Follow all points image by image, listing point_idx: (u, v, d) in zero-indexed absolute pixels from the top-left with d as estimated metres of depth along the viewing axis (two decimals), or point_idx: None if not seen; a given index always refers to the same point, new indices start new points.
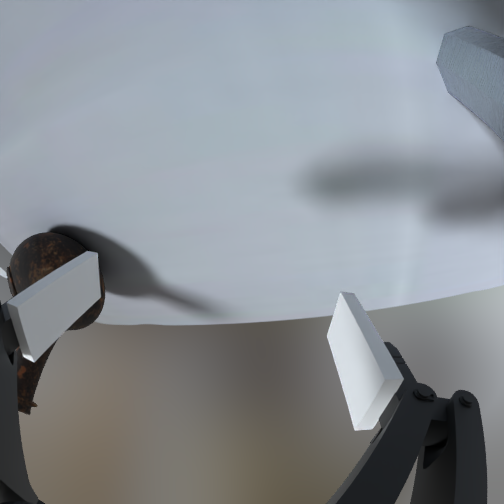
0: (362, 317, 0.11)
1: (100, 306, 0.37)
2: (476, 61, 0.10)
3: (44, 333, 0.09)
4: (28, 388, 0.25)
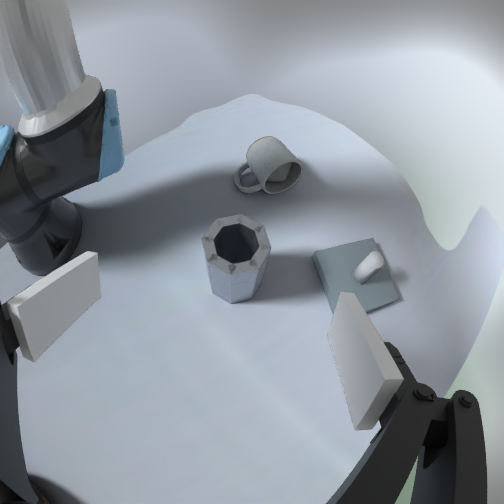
0: (362, 317, 0.11)
1: None
2: (207, 268, 0.36)
3: (44, 333, 0.09)
4: None
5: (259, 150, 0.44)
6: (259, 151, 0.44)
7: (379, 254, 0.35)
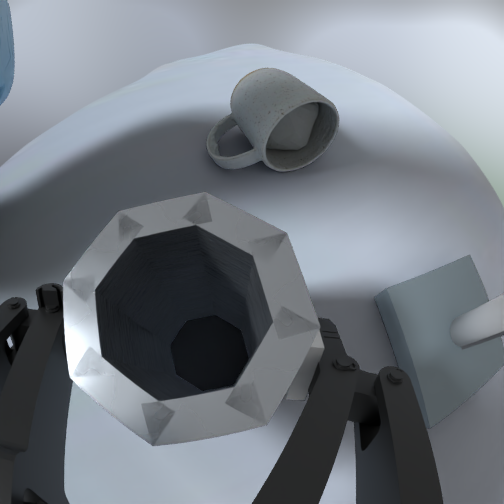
0: None
1: None
2: None
3: None
4: None
5: (255, 85, 0.20)
6: (254, 87, 0.20)
7: None
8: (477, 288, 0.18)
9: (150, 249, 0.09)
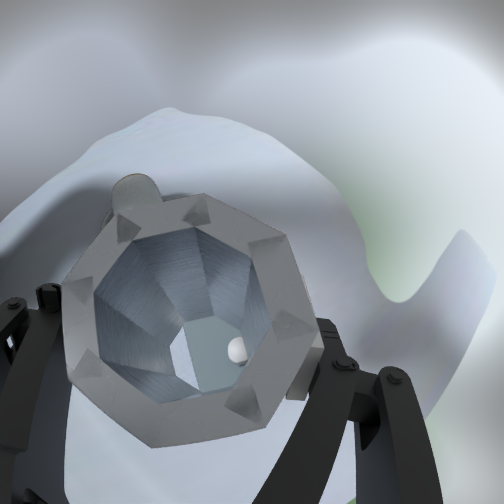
0: None
1: None
2: None
3: None
4: None
5: (116, 195, 0.34)
6: (116, 197, 0.34)
7: None
8: None
9: (148, 251, 0.09)
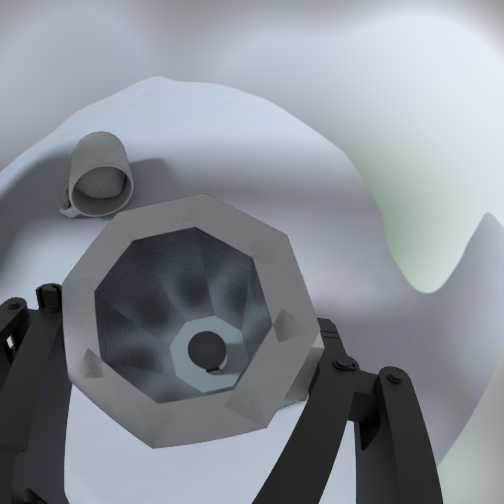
0: None
1: None
2: None
3: None
4: None
5: (74, 155, 0.25)
6: (73, 157, 0.25)
7: (216, 339, 0.17)
8: None
9: (149, 251, 0.09)
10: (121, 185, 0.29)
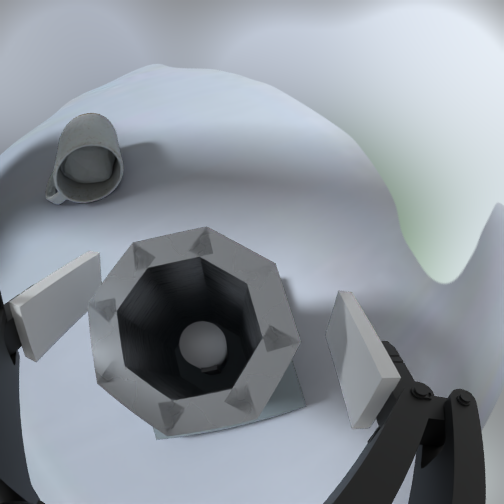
0: (360, 316, 0.11)
1: None
2: None
3: (46, 333, 0.09)
4: None
5: (61, 137, 0.22)
6: (60, 139, 0.22)
7: (214, 331, 0.14)
8: None
9: (161, 275, 0.11)
10: (110, 168, 0.26)
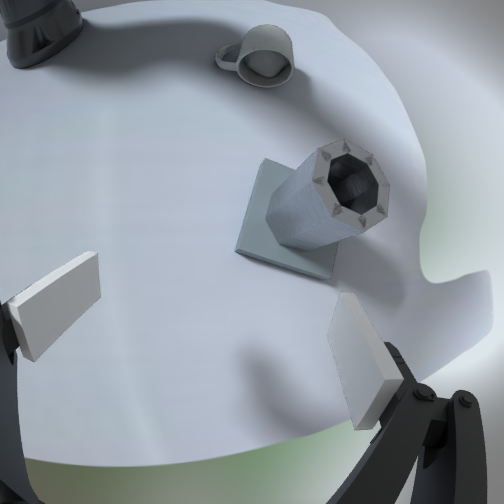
0: (362, 317, 0.11)
1: None
2: (286, 187, 0.25)
3: (44, 333, 0.09)
4: None
5: (258, 31, 0.29)
6: (256, 32, 0.29)
7: None
8: None
9: (345, 159, 0.21)
10: (276, 73, 0.33)
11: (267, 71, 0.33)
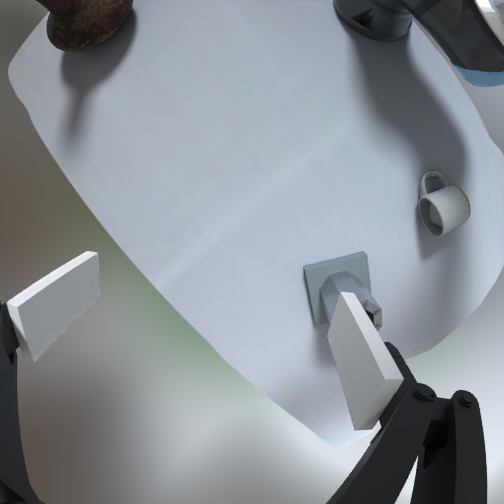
0: (362, 317, 0.11)
1: (77, 46, 0.30)
2: (347, 284, 0.41)
3: (44, 333, 0.09)
4: None
5: (456, 198, 0.36)
6: (455, 197, 0.36)
7: None
8: None
9: (371, 312, 0.37)
10: (434, 223, 0.42)
11: (432, 217, 0.42)
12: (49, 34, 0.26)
